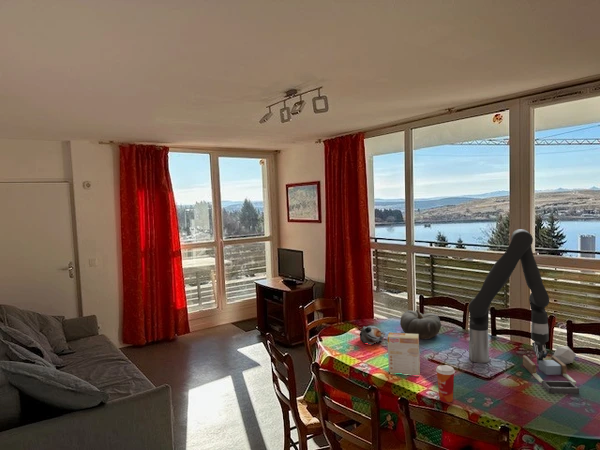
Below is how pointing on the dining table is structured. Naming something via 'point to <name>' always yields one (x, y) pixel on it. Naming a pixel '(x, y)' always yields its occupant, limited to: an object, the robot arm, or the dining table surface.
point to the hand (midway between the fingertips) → (540, 364)
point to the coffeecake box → (403, 353)
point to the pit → (560, 387)
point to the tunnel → (532, 367)
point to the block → (549, 367)
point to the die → (564, 354)
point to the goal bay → (563, 375)
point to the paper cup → (445, 382)
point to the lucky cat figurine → (371, 335)
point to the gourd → (420, 324)
